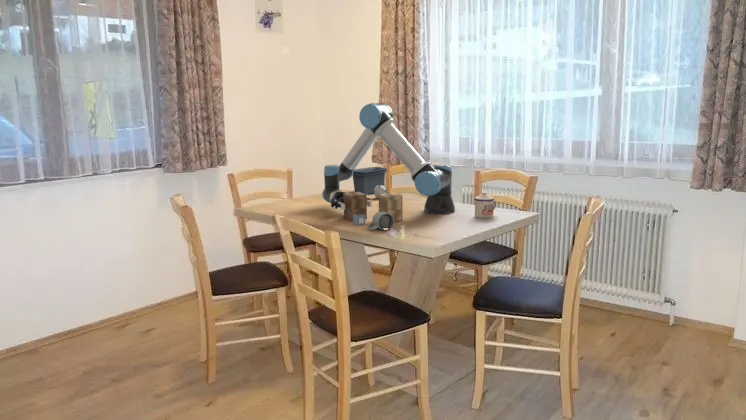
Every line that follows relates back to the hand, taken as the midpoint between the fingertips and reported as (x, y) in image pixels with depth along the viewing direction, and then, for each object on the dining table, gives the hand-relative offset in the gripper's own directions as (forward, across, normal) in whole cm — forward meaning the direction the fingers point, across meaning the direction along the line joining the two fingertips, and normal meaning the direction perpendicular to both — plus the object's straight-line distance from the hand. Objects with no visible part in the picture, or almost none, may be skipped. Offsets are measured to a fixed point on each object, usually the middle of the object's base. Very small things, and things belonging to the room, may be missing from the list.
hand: (357, 205), depth 283 cm
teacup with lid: (+23, -57, -7) cm, 62 cm away
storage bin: (-66, -37, -7) cm, 76 cm away
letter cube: (+8, +3, -7) cm, 11 cm away
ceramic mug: (+22, 0, -7) cm, 23 cm away
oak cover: (+8, -13, -7) cm, 17 cm away
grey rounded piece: (-45, -35, -7) cm, 57 cm away
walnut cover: (-3, 0, -7) cm, 8 cm away
